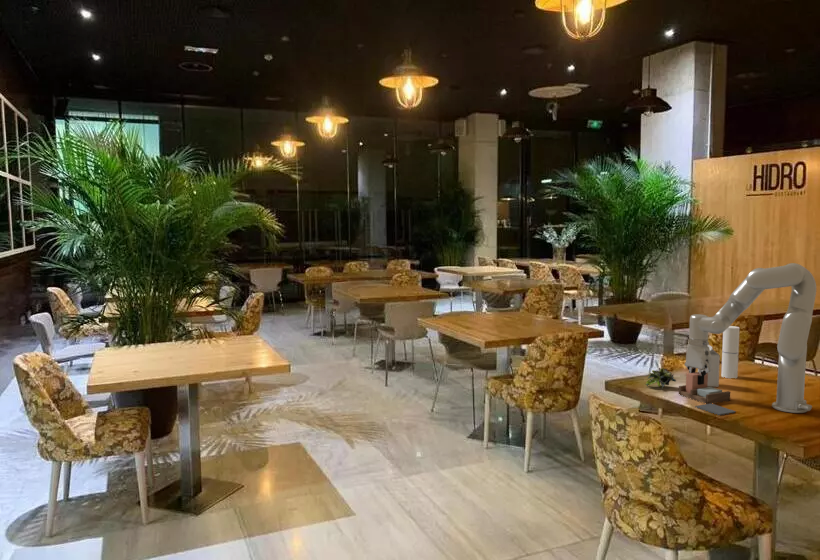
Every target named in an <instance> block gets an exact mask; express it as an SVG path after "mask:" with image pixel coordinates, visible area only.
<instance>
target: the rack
mask: <svg viewBox="0 0 820 560" xmlns="http://www.w3.org/2000/svg"><path fill="white" fill-rule="evenodd" d="M713 388H716V387H713ZM699 389H701V388H699ZM679 394H680V395H683V396H682V397H684V396H686V397H685V398H687V397H688V398H687V399H690V398H691V399H690V400H693V399H694V400H693V401H696V400H697V402H699V401H700V402H699V403H702V402H703V403H702V404H705V403H706V404H711V403H713V404H718V403H717V402H719V403H724V402H723V401H726V402H731V391H729V390H728V391H727V390H725V391H722V392H720V393H713V394H707V395H706V398H703V397H700V396H697V389H693V390H691V393H687V392H686V384H685V385H679V386H678V395H679ZM680 395H679V396H680Z"/></svg>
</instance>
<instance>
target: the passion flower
mask: <svg viewBox="0 0 820 560" xmlns="http://www.w3.org/2000/svg"><path fill="white" fill-rule="evenodd" d="M671 381H672V382H675V383H676V382H677V379H675V376H674V374H673V373H672V372H670V371H669V370H668V368H665V367H661V368H660V367H659V368H658V369H652V372H649V375H648V377H647V381H646V382H645V386H646V387H647V386H648V385H649V386H651V385H653V384H655V383H657V386H658V387H661V389H663V388H664V387H665V386H666V385H667V386H669V385H670V383H671ZM649 386H648V387H649Z"/></svg>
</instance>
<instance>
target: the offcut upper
mask: <svg viewBox="0 0 820 560" xmlns="http://www.w3.org/2000/svg"><path fill="white" fill-rule="evenodd" d="M720 392H723V389H719V388H717V387H715V388H713V387H709V386H707V387H706V388H701V389H697V395H700V396H703V397H706V395H707V394H713V393H720Z"/></svg>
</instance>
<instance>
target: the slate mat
mask: <svg viewBox="0 0 820 560" xmlns="http://www.w3.org/2000/svg"><path fill="white" fill-rule="evenodd" d="M694 407H695V408H696V407H697V408H696V409H699V408H700V409H699V410H702V411H704V410H705V412H707V411H708V413H711V414H713V413H714V415H716V414H717V416H719V415H720V416H725V414H726V415H730V414H729V413H732V414H736V413H737V411H736V410H733V409H729V408H727V407H723V406H720V405H717V404H716V403H713V404H712V403H711V404H705V403H704V404H699V405H695V406H694ZM735 412H736V413H735Z"/></svg>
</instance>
